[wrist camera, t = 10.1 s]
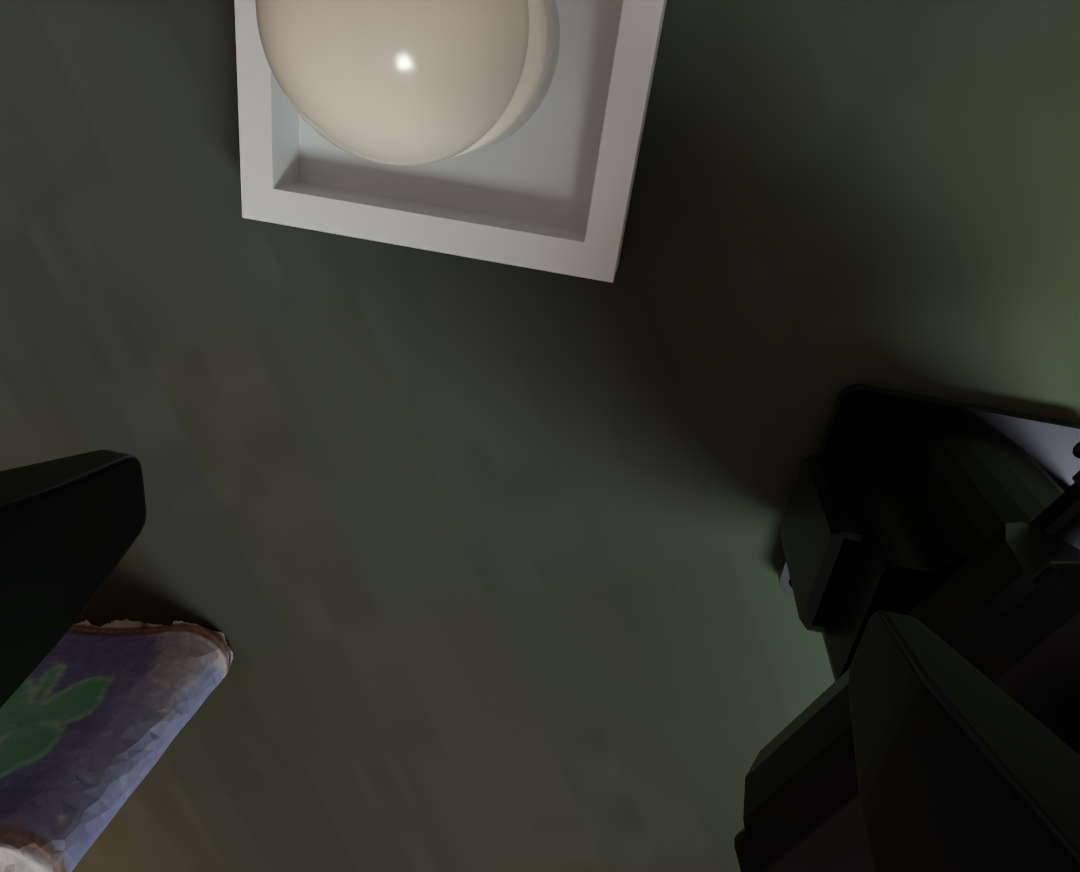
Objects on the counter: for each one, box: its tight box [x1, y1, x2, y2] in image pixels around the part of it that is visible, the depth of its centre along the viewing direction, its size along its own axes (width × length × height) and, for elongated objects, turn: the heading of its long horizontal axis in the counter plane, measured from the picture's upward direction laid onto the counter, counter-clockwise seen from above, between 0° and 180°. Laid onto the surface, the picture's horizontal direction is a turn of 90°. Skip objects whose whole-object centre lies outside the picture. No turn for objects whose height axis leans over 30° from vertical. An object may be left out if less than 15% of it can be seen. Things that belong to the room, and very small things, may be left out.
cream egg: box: [255, 0, 560, 166], centre depth 14 cm, size 5×5×6 cm
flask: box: [0, 619, 233, 872], centre depth 23 cm, size 9×3×11 cm, turn 95°
